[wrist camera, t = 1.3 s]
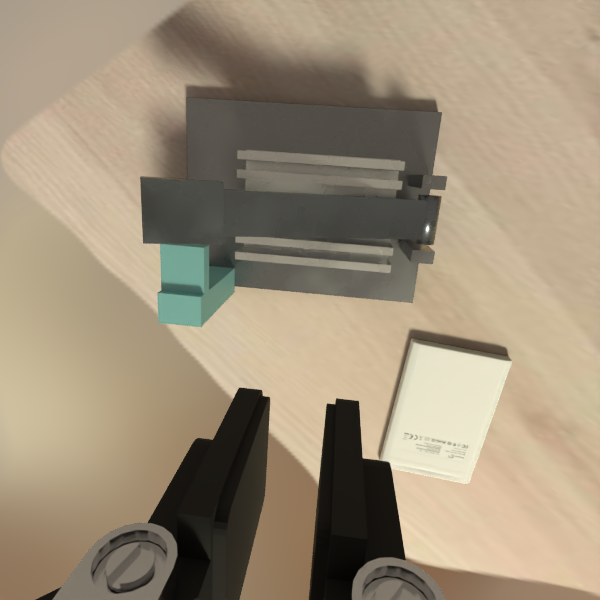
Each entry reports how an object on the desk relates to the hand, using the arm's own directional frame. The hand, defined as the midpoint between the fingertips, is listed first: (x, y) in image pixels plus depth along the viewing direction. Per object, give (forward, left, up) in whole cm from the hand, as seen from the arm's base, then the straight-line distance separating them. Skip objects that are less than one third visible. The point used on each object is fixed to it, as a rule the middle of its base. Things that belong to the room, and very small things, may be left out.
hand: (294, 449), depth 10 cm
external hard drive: (-11, +13, -26) cm, 31 cm away
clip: (+9, +1, -24) cm, 26 cm away
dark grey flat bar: (+2, -4, -16) cm, 17 cm away
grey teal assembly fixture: (+2, -4, -25) cm, 26 cm away
